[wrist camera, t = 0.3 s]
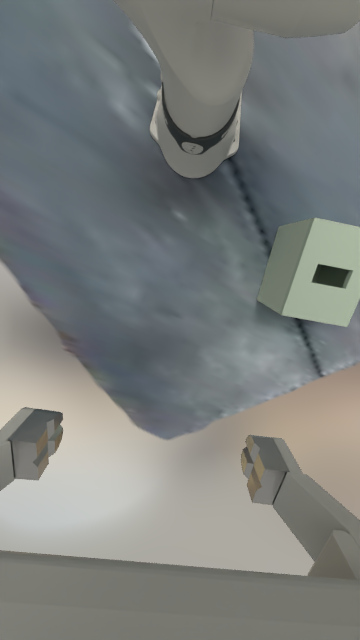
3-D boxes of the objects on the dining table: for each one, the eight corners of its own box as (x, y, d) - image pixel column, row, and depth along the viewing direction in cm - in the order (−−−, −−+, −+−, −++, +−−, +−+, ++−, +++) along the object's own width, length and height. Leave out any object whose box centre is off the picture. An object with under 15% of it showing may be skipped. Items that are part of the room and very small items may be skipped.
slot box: (278, 226, 51) (314, 217, 37) (334, 237, 51) (388, 233, 38) (256, 300, 56) (281, 315, 43) (307, 309, 57) (347, 326, 43)
